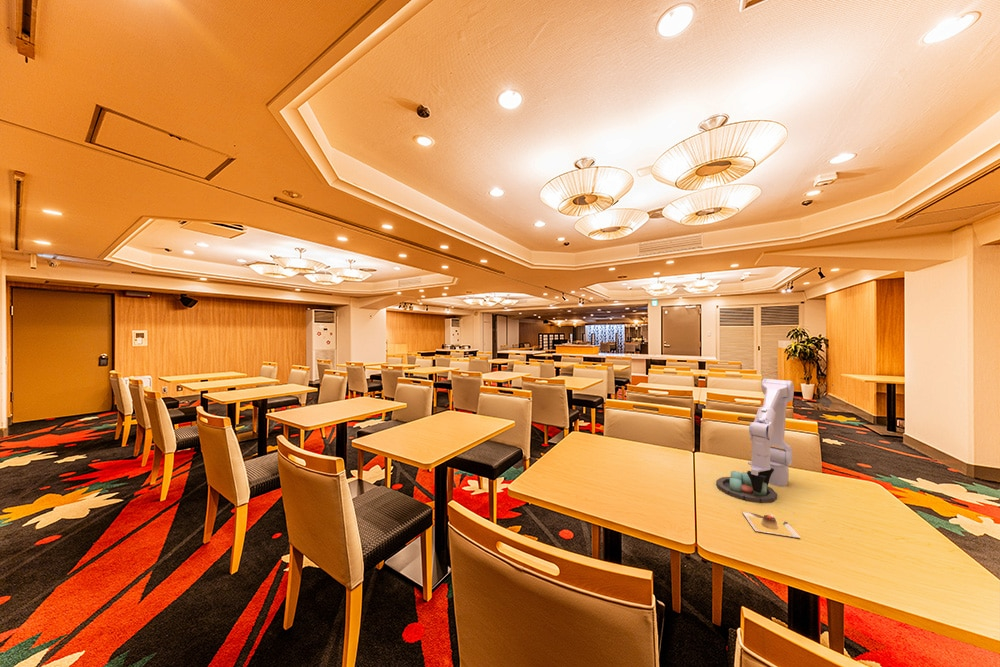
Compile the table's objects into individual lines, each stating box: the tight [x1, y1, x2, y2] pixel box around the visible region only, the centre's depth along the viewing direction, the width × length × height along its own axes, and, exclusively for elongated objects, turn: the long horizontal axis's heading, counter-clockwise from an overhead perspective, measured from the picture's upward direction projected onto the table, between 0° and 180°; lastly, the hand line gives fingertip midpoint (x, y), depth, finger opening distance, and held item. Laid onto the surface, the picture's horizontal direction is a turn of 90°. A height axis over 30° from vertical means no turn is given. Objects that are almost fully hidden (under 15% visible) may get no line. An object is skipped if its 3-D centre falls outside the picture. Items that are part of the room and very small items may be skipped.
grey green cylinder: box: [730, 478, 741, 493], centre depth 134 cm, size 4×4×5 cm
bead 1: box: [730, 470, 742, 484], centre depth 141 cm, size 4×4×5 cm
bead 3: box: [754, 482, 767, 496], centre depth 132 cm, size 4×4×5 cm
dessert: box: [742, 511, 802, 539], centre depth 113 cm, size 12×12×5 cm
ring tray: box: [715, 476, 778, 504], centre depth 136 cm, size 19×19×2 cm
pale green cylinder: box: [741, 472, 753, 488], centre depth 140 cm, size 4×4×5 cm
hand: (760, 488), depth 132 cm, fingers open, 7 cm apart
